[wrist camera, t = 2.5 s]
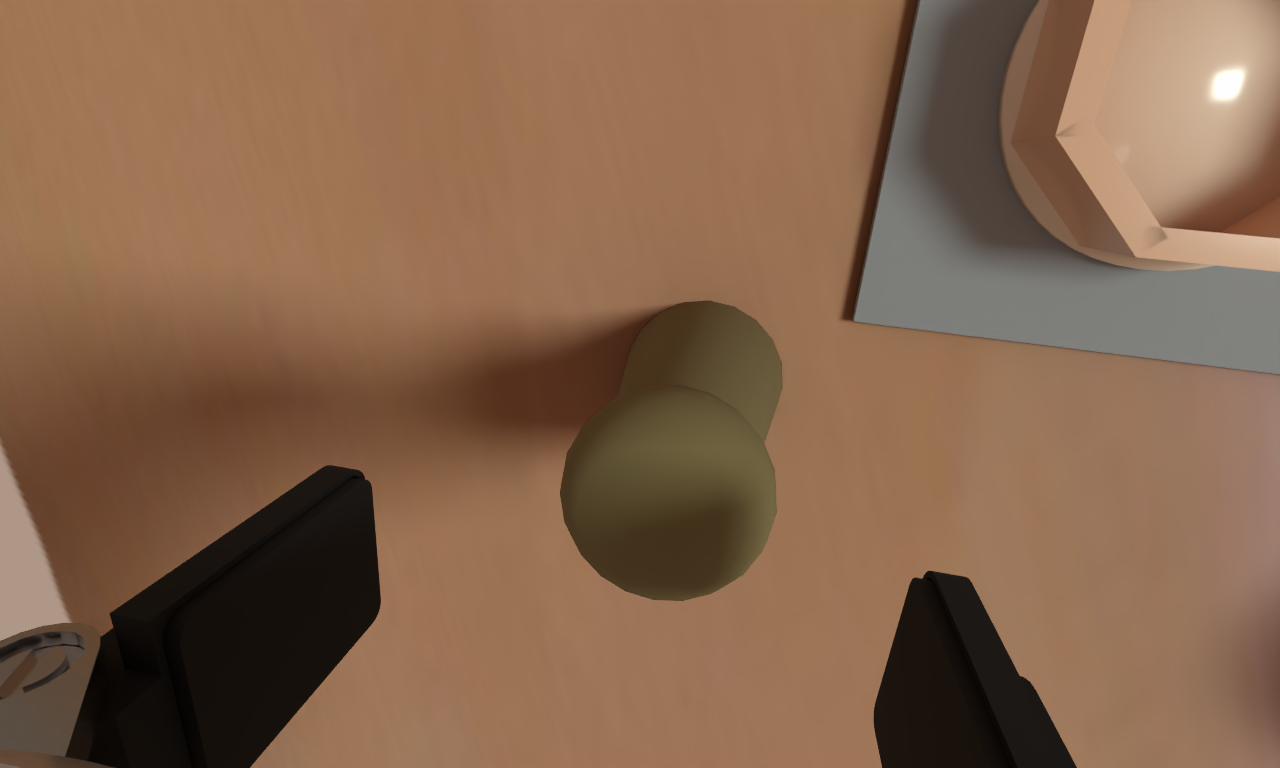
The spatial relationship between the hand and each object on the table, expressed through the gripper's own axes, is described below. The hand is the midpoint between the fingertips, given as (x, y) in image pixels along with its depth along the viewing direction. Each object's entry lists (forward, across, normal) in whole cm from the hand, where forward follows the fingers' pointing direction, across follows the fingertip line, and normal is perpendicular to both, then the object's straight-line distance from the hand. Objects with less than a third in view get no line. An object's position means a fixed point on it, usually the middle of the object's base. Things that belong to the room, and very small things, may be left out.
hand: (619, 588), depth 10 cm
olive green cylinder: (+14, 0, +1) cm, 14 cm away
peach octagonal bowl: (+14, -13, -10) cm, 22 cm away
